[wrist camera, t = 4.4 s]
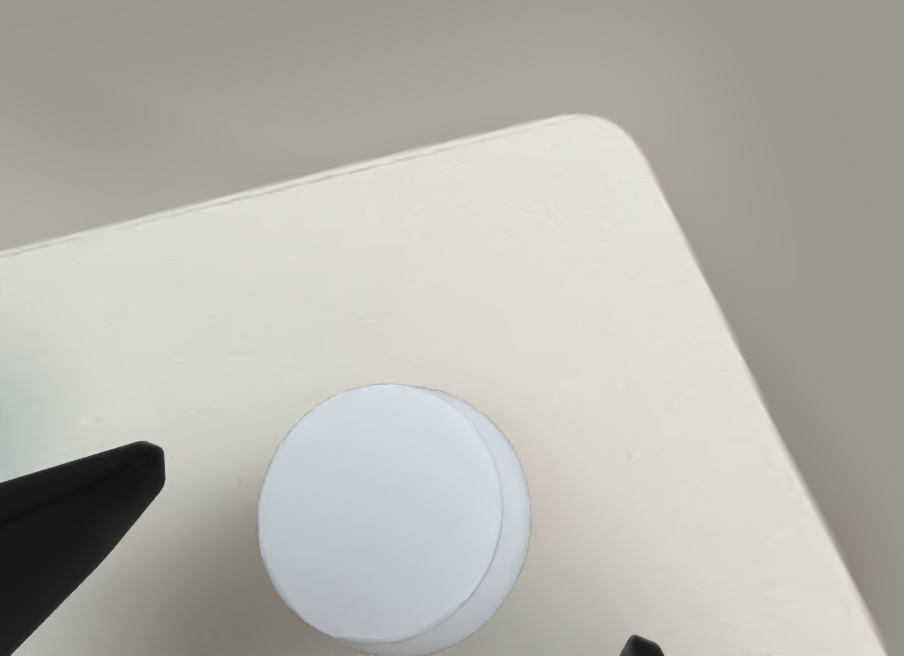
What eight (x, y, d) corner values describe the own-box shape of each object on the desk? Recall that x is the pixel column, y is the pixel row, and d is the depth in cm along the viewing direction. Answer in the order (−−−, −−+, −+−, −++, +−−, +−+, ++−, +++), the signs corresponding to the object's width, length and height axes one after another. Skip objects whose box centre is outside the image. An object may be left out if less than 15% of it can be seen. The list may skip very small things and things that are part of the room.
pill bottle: (550, 522, 17) (623, 513, 8) (428, 651, 16) (352, 808, 7) (438, 404, 19) (394, 285, 10) (320, 514, 18) (146, 495, 9)
